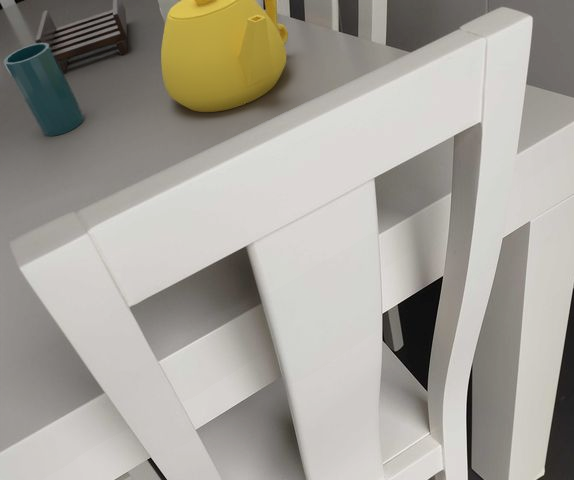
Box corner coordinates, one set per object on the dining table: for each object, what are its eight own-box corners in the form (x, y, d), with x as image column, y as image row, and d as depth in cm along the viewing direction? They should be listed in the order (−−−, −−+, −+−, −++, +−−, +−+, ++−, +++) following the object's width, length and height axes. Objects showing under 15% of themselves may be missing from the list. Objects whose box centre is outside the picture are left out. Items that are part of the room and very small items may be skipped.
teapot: (152, 100, 83) (113, 2, 74) (258, 44, 88) (234, -54, 79) (227, 137, 70) (190, 24, 61) (345, 69, 75) (328, -44, 66)
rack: (53, 77, 100) (35, 40, 95) (59, 45, 111) (43, 11, 107) (132, 51, 99) (117, 13, 95) (130, 22, 111) (116, -13, 107)
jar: (172, 42, 98) (143, -40, 89) (218, 27, 98) (194, -57, 89) (176, 60, 92) (146, -26, 83) (226, 44, 92) (201, -45, 83)
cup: (41, 140, 82) (0, 68, 75) (44, 122, 87) (6, 52, 79) (83, 127, 82) (46, 53, 75) (85, 109, 87) (50, 38, 79)
